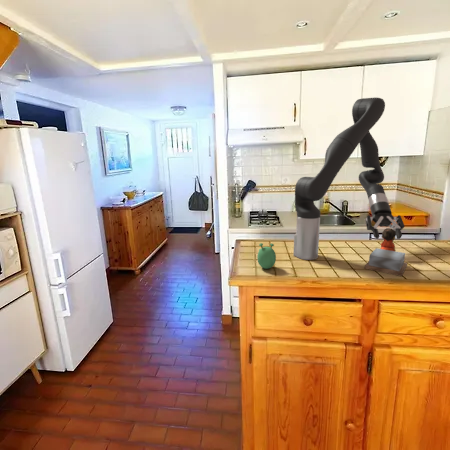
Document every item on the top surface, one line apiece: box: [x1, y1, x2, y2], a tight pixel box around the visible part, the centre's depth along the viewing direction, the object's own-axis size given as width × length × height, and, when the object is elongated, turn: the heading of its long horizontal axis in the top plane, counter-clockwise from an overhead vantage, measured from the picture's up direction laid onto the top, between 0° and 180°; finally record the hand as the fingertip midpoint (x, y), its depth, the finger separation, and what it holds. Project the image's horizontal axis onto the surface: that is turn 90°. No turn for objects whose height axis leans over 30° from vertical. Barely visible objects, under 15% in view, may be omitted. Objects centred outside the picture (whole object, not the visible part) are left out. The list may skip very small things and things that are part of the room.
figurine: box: [379, 227, 397, 252], centre depth 118 cm, size 6×6×12 cm
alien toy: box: [256, 242, 277, 270], centre depth 109 cm, size 7×8×10 cm
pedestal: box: [364, 247, 408, 277], centre depth 108 cm, size 12×12×5 cm
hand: (388, 238), depth 118 cm, fingers open, 8 cm apart
